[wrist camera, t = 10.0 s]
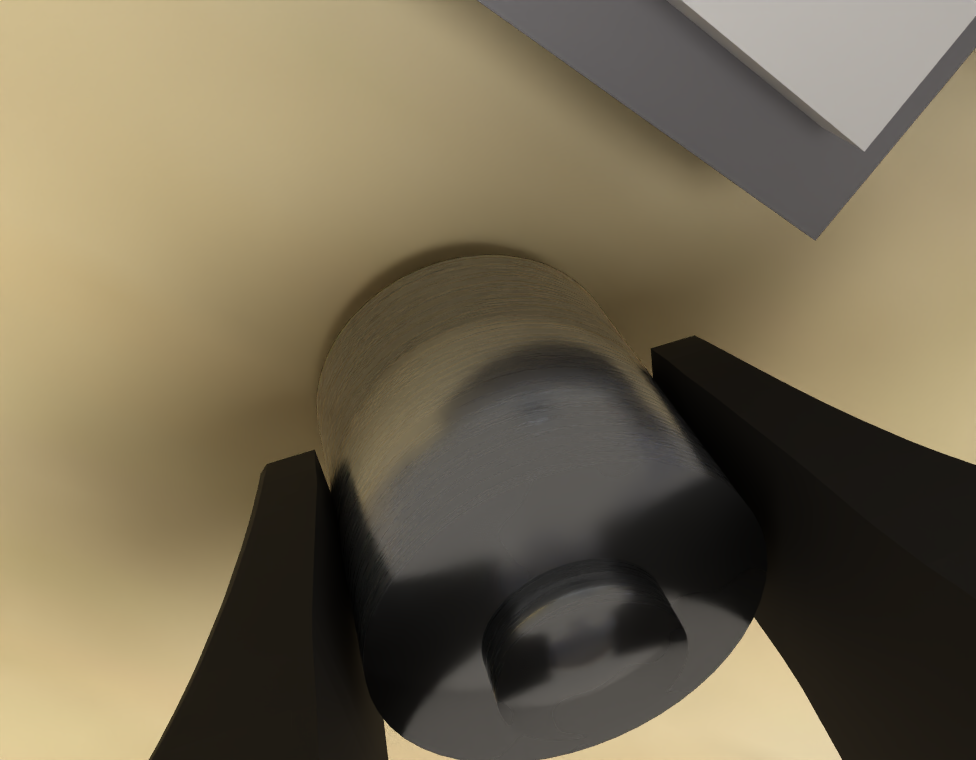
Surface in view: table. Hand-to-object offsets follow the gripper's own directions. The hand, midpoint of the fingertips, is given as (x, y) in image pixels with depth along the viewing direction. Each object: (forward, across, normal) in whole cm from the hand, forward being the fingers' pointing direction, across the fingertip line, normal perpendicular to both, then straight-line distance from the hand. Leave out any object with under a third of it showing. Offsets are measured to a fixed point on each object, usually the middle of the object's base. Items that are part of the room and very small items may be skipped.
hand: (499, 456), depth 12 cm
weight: (+1, 0, 0) cm, 1 cm away
